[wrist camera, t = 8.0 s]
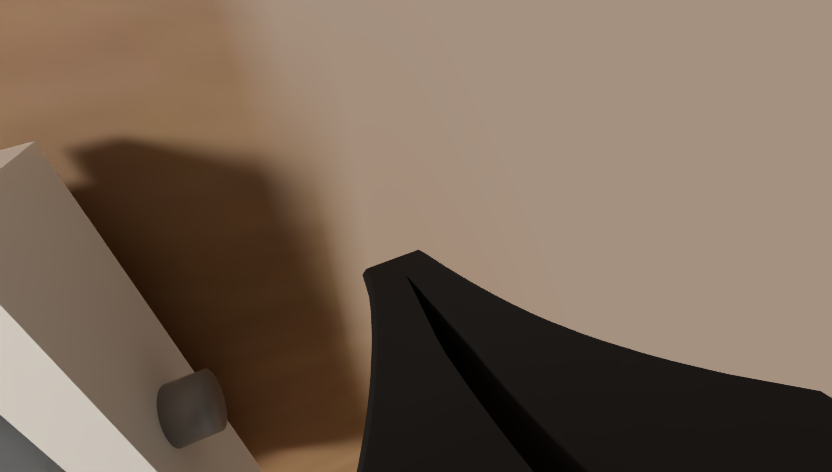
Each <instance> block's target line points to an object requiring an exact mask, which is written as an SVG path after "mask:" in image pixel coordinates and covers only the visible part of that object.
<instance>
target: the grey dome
mask: <svg viewBox="0 0 832 472" xmlns="http://www.w3.org/2000/svg"><path fill="white" fill-rule="evenodd" d="M0 472H66V471H65V470H64V469H62V468H61V467H60V466H59V465H58V464H57V463H55V462H54V461H53V460H52V459H51V458H50V457H48V456H47V455H46V454H45V453H44V452H43V451H42V450H40V449H39V448H38V447H37V446H36V445H35V444H33V443H32V442H31V441H30V440H29V439H28V438H26V437H25V436H24V435H23V434H22V433H21V432H20V431H18V430H17V429H16V428H15V427H14V426H13V425H11V424H10V423H9V422H8V421H7V420H6V419H5V418H3V417H2V416H1V415H0Z"/></svg>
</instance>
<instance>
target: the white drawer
mask: <svg viewBox="0 0 832 472" xmlns="http://www.w3.org/2000/svg"><path fill="white" fill-rule="evenodd" d="M0 415H1V416H2V417H3V418H5V419H6V420H7V421H8V422H9V423H10V424H11V425H13V426H14V427H15V428H16V429H17V430H18V431H20V432H21V433H22V434H23V435H24V436H25V437H26V438H28V439H29V440H30V441H31V442H32V443H33V444H35V445H36V446H37V447H38V448H39V449H40V450H42V451H43V452H44V453H45V454H46V455H47V456H48V457H50V458H51V459H52V460H53V461H54V462H55V463H57V464H58V465H59V466H60V467H61V468H62V469H64V470H65V471H66V472H263V471H262V469H261V468H260V467H259V465H258V464H257V462H256V461H255V459H254V458H253V456H252V455H251V453H250V452H249V451H248V449H247V448H246V446H245V445H244V443H243V442H242V440H241V439H240V438H239V436H238V435H237V433H236V432H235V430H234V429H233V427H232V426H231V424H230V423H229V422H228V420H227V408H226V403H225V399H224V395H223V392H222V389H221V387H220V384H219V382H218V380H217V378H216V377H215V375H214V374H213V373H212V372H211V371H210V370H209V369H207V368H205V369H202V370H200V371H197V372H194V371H193V369H192V368H191V367H190V365H189V364H188V362H187V361H186V359H185V358H184V356H183V355H182V353H181V352H180V351H179V349H178V348H177V346H176V345H175V343H174V342H173V340H172V339H171V338H170V336H169V335H168V333H167V332H166V330H165V329H164V327H163V326H162V324H161V323H160V322H159V320H158V319H157V317H156V316H155V314H154V313H153V311H152V310H151V309H150V307H149V306H148V304H147V303H146V301H145V300H144V298H143V297H142V295H141V294H140V293H139V291H138V290H137V288H136V287H135V285H134V284H133V282H132V281H131V280H130V278H129V277H128V275H127V274H126V272H125V271H124V269H123V268H122V266H121V265H120V264H119V262H118V261H117V259H116V258H115V256H114V255H113V253H112V252H111V251H110V249H109V248H108V246H107V245H106V243H105V242H104V240H103V239H102V237H101V236H100V235H99V233H98V232H97V230H96V229H95V227H94V226H93V224H92V223H91V222H90V220H89V219H88V217H87V216H86V214H85V213H84V211H83V210H82V209H81V207H80V206H79V204H78V203H77V201H76V200H75V198H74V197H73V195H72V194H71V193H70V191H69V190H68V188H67V187H66V185H65V184H64V182H63V181H62V180H61V178H60V177H59V175H58V174H57V172H56V171H55V169H54V168H53V166H52V165H51V164H50V162H49V161H48V159H47V158H46V156H45V155H44V153H43V152H42V151H41V149H40V148H39V146H38V145H37V143H36V142H35V141H33V142H29V143H26V144H22V145H18V146H14V147H10V148H6V149H2V150H0Z"/></svg>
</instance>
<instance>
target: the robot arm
mask: <svg viewBox="0 0 832 472" xmlns="http://www.w3.org/2000/svg"><path fill="white" fill-rule="evenodd" d="M363 278H364V281H365V285H366V288H367V291H368V294H369V299H370V308H371V324H372V356H371V378H370V389H369V399H368V407H367V415H366V423H365V429H364V435H363V441H362V447H361V453H360V458H359V464H358V469H357V472H832V398H831V397H829V396H827V395H826V394H824V393H823V392H821V391H816V390H811V389H806V388H800V387H795V386H789V385H784V384H778V383H773V382H767V381H762V380H757V379H751V378H746V377H740V376H735V375H729V374H725V373H721V372H716V371H712V370H707V369H703V368H699V367H695V366H691V365H687V364H682V363H678V362H674V361H670V360H666V359H663V358H659V357H655V356H652V355H647V354H644V353H641V352H637V351H634V350H631V349H628V348H624V347H621V346H618V345H615V344H611V343H608V342H605V341H602V340H599V339H596V338H593V337H590V336H587V335H584V334H581V333H579V332H576V331H574V330H571V329H568V328H566V327H563V326H561V325H558V324H556V323H553V322H550V321H548V320H546V319H543V318H541V317H538V316H536V315H534V314H532V313H530V312H528V311H526V310H523V309H521V308H519V307H517V306H515V305H513V304H511V303H509V302H507V301H505V300H503V299H501V298H499V297H497V296H495V295H493V294H492V293H490V292H488V291H486V290H485V289H483V288H481V287H479V286H477V285H476V284H474V283H472V282H470V281H468V280H467V279H465V278H463V277H462V276H460V275H458V274H457V273H455V272H453V271H452V270H450V269H449V268H447V267H445V266H444V265H442V264H441V263H439V262H438V261H436V260H434V259H433V258H431V257H430V256H428V255H427V254H425V253H423V252H421V251H420V250H417V251H414V252H411V253H409V254H406V255H403V256H400V257H398V258H395V259H392V260H389V261H387V262H384V263H381V264H379V265H376V266H373V267H370V268H368V269H366V270H365V272H364V273H363Z"/></svg>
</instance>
